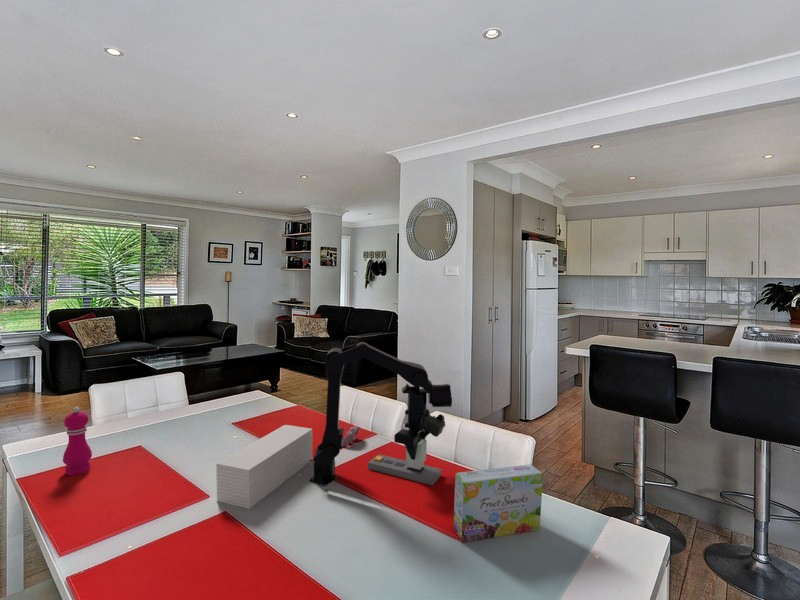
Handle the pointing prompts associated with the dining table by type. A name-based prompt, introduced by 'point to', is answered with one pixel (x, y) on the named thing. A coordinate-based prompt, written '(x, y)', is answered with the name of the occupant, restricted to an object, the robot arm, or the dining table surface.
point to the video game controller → (351, 435)
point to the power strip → (404, 469)
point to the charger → (418, 456)
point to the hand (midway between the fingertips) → (416, 456)
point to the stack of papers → (263, 465)
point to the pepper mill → (76, 443)
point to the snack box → (497, 502)
